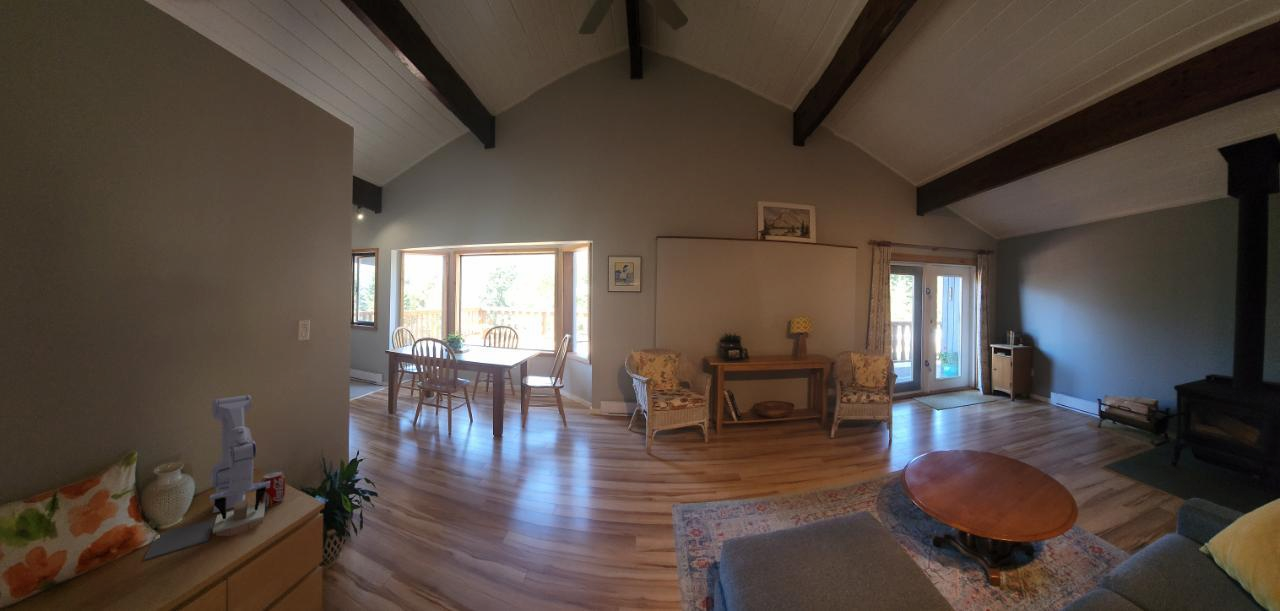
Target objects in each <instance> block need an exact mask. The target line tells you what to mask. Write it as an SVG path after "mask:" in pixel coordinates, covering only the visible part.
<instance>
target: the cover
mask: <svg viewBox="0 0 1280 611" xmlns="http://www.w3.org/2000/svg"><path fill="white" fill-rule="evenodd" d="M248 501H249V500H248V499H245V500H243V501H239V502H236V503H235V508H233V510H231V511H226V513H227V514H226V519H223V517H222V514H221V513H219V514H217V515H216V518H215V520H214V524H213V527H212V534H216V532H219V531H222V530H226V529H229V528H232V527H236V526H239V525H243V524H246V523H250V522H253V521H257V520H260V519H262V520H263V519H265V509H266V507H265V502H264V503H259V505H258V510H255V504H254V505H248V503H249V502H248Z"/></svg>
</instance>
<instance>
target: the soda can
mask: <svg viewBox="0 0 1280 611" xmlns="http://www.w3.org/2000/svg"><path fill="white" fill-rule="evenodd" d="M267 481H270V488H267V489H266V491H265V493H264V495H263V497H262V498H261V500H260V503H264V502H265V508H266V507H267V508H268V507H274V506H276V505H278V504H280V503H281V502H283V501H284V500H285V496H286V474H284V471H283V470H276V471H272V472H268V473H266V474H264V475H263V476H262V478H261V480H260V483H262V482H267ZM260 503H259V504H260Z"/></svg>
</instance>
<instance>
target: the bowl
mask: <svg viewBox="0 0 1280 611" xmlns="http://www.w3.org/2000/svg"><path fill="white" fill-rule="evenodd" d="M262 523H263V519H260V520H257V521H253V522H250V523H246V524H243V525H239V526H236V527H232V528H229V529H226V530H222V531H219V532H215V536H216V537H230V536H231V537H232V536H233V535H234V536H235V535H237V534H240V533H244V532H247V531H250V530H251V529H254V528H255V527H257V526H259V525H260V524H262Z"/></svg>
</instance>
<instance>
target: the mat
mask: <svg viewBox="0 0 1280 611" xmlns="http://www.w3.org/2000/svg"><path fill="white" fill-rule="evenodd" d="M215 521H216V518H212V519H209V520H205V521H201V522H198V523H194V524H190V525H186V526H183V527H182V526H181V527H178V528H176V529H171V530H168V531H165V532H160V533H158V534H159V535H160V538H158V539H156V540H155V541H153V540H152V542H151V543H150V546H149V547H148V550H147V552H146V554H145V556H144V558H143V562H145V561H148V560H147V559H149V560H151V559H150V558H152V559H155V558H159V557H161V556H165V555H168V553H169V554H171V552H172V553H175V552H178V550H179V551H183V550H186V549H188V548H192V547H195V546H198V545H202V544H205V543H209V541H210V536H211V533H212V532H213V528H214V525H215ZM174 551H175V552H174ZM154 557H155V558H154ZM144 560H145V561H144Z"/></svg>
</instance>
